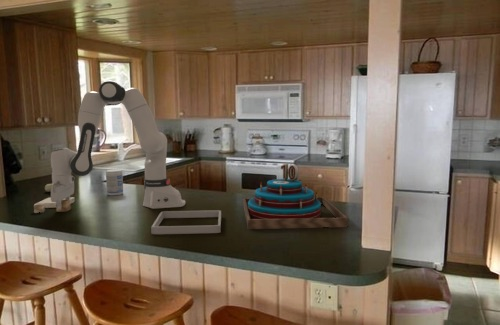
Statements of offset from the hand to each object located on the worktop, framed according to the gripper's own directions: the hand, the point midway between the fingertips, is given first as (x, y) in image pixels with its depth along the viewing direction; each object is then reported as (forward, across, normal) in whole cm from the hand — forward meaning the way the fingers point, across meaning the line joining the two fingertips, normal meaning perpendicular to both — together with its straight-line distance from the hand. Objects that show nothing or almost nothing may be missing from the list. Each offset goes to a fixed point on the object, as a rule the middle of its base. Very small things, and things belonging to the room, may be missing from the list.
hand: (63, 206), depth 199 cm
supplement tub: (+2, +39, -15) cm, 42 cm away
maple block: (+2, -2, +11) cm, 11 cm away
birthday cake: (+2, -16, -110) cm, 112 cm away
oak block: (+2, 0, 0) cm, 2 cm away
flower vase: (+2, +38, +18) cm, 42 cm away
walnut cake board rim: (+2, -18, -113) cm, 114 cm away
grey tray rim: (+2, -31, -66) cm, 73 cm away
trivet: (+2, +13, +9) cm, 16 cm away
